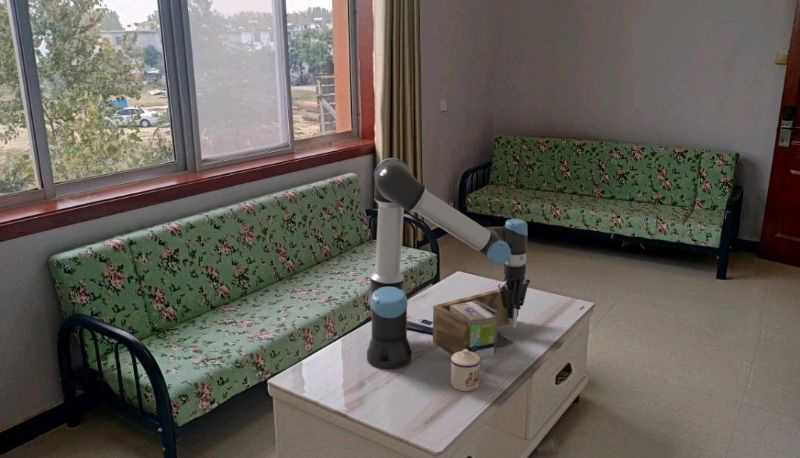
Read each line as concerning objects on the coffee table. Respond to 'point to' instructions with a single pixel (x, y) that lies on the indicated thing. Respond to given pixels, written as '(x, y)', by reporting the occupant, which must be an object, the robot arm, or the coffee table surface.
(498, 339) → the bookend
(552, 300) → the coffee table surface
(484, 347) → the tea box
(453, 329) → the shelf
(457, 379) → the teacup with lid
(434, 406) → the coffee table surface
